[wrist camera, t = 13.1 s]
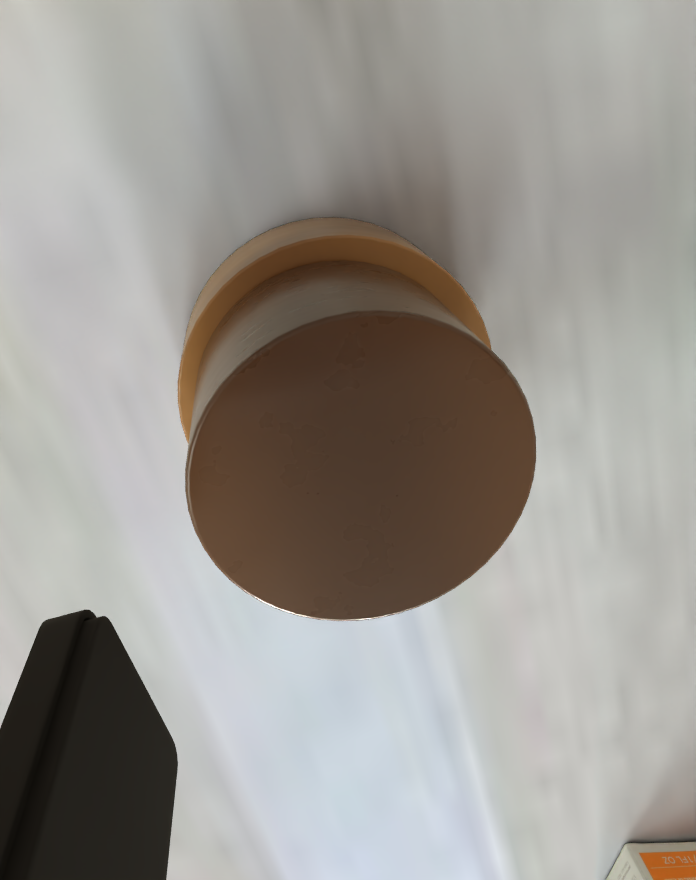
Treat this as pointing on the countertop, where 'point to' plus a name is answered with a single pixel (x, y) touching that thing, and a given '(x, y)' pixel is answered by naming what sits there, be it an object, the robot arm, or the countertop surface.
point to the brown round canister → (353, 445)
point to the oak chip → (302, 248)
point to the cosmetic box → (655, 862)
